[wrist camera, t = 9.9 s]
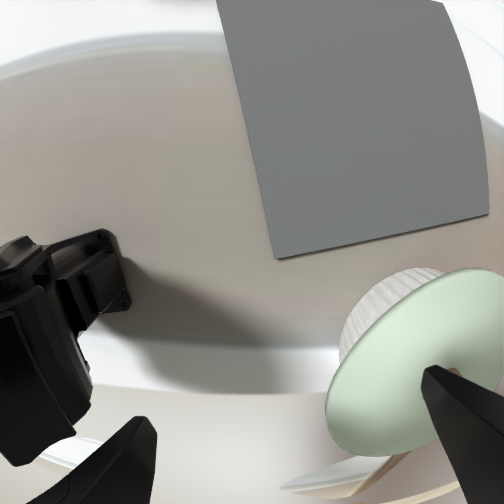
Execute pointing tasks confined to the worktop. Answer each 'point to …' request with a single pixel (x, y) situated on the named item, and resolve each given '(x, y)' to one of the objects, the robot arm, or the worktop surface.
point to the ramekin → (381, 303)
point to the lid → (416, 361)
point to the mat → (356, 118)
